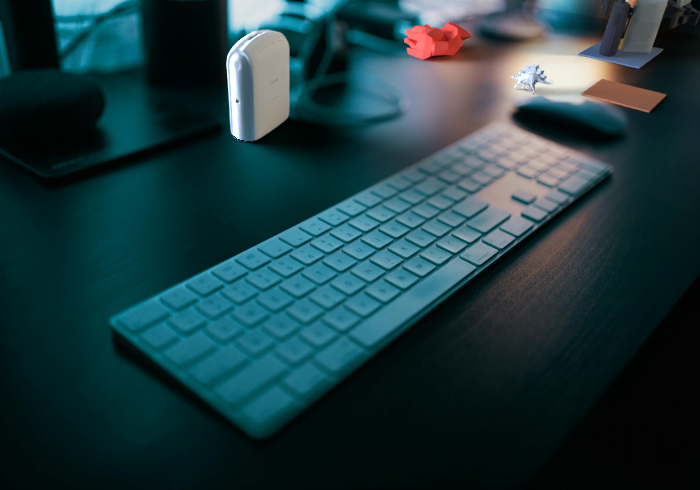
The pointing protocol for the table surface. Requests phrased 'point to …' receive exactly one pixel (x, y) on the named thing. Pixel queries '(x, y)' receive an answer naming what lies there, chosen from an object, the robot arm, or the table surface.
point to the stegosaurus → (531, 77)
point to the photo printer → (258, 84)
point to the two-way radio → (616, 27)
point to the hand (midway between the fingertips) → (638, 15)
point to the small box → (643, 26)
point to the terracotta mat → (624, 95)
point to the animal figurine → (435, 40)
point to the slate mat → (622, 56)
